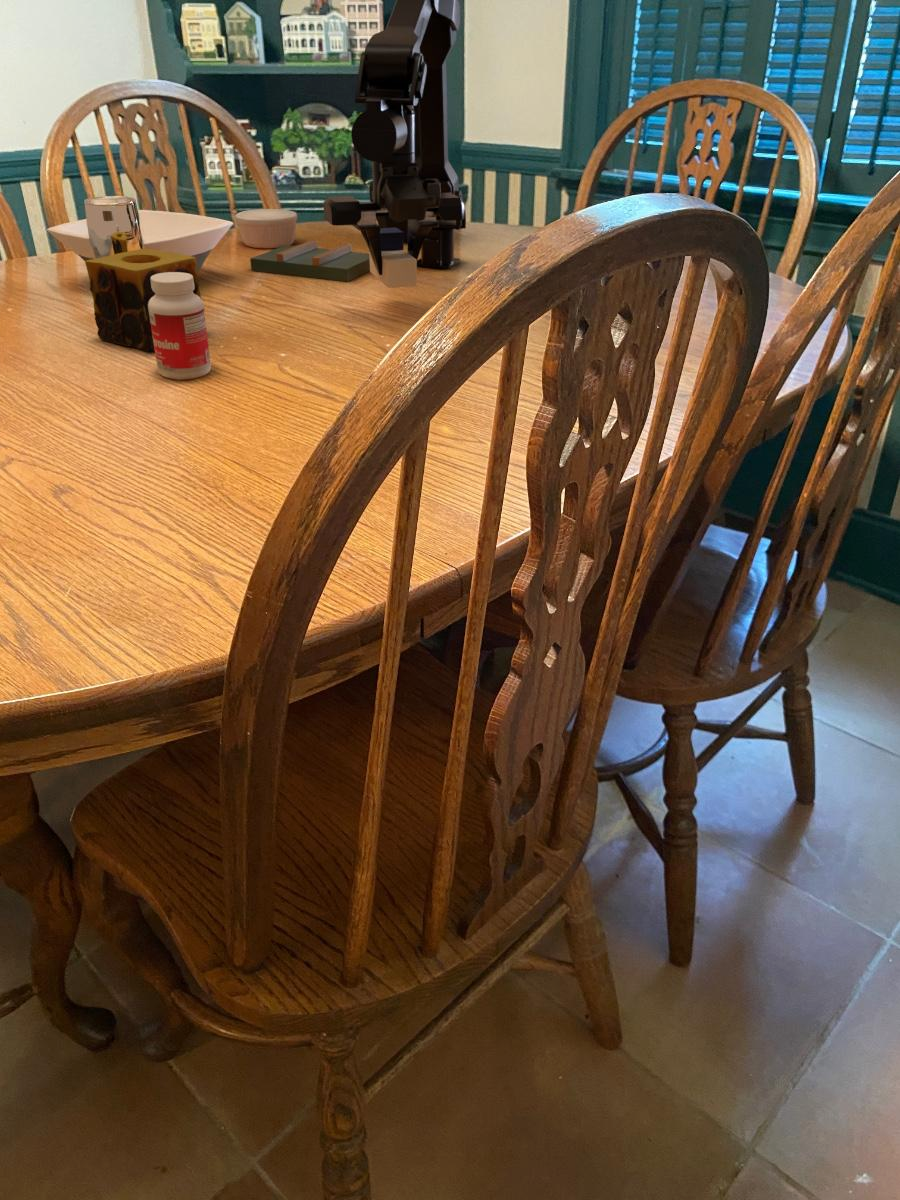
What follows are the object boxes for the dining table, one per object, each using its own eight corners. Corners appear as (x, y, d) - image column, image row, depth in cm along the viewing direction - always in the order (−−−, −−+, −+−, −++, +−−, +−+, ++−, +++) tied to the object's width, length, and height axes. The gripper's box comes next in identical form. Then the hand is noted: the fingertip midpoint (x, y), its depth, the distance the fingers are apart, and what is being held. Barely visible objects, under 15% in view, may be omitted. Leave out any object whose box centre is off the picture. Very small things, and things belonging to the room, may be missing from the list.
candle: (150, 354, 113) (136, 271, 108) (96, 340, 118) (80, 260, 112) (209, 334, 121) (199, 256, 115) (155, 322, 125) (143, 246, 120)
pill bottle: (148, 372, 108) (132, 276, 102) (190, 360, 112) (177, 267, 106) (179, 384, 104) (164, 286, 98) (222, 372, 108) (211, 276, 102)
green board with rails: (287, 256, 161) (285, 237, 160) (378, 266, 156) (378, 247, 154) (251, 270, 152) (249, 250, 150) (347, 281, 146) (346, 261, 145)
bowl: (44, 287, 140) (31, 229, 136) (149, 259, 157) (141, 207, 153) (152, 306, 132) (142, 245, 127) (251, 275, 149) (245, 220, 144)
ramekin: (228, 247, 166) (225, 217, 164) (252, 236, 176) (249, 207, 173) (285, 251, 165) (283, 220, 162) (307, 239, 174) (305, 210, 171)
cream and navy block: (369, 271, 134) (368, 228, 131) (397, 270, 135) (396, 227, 132) (387, 287, 126) (387, 242, 123) (416, 286, 127) (416, 241, 124)
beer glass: (140, 322, 125) (120, 205, 117) (94, 318, 126) (71, 202, 118) (163, 309, 131) (146, 197, 123) (119, 305, 132) (99, 194, 124)
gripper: (338, 161, 111) (344, 291, 120) (480, 158, 117) (476, 283, 125) (319, 151, 120) (326, 272, 129) (452, 148, 126) (450, 265, 134)
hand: (395, 273), depth 129 cm, fingers closed on cream and navy block, 4 cm apart
